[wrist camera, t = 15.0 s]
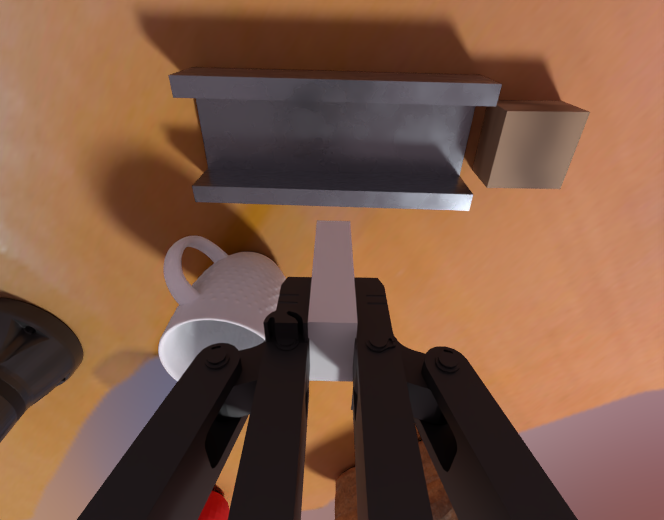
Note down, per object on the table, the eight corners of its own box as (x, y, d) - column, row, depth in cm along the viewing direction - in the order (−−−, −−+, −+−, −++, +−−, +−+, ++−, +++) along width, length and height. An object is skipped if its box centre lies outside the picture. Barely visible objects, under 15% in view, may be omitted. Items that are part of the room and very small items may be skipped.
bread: (324, 472, 69) (320, 561, 57) (467, 413, 56) (498, 510, 45) (364, 495, 73) (367, 581, 62) (504, 445, 61) (539, 540, 50)
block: (471, 169, 34) (487, 187, 31) (487, 99, 31) (507, 111, 27) (536, 170, 34) (560, 188, 31) (560, 100, 31) (590, 111, 27)
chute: (212, 180, 36) (195, 201, 31) (192, 67, 30) (168, 75, 26) (454, 187, 35) (468, 210, 31) (480, 74, 30) (501, 84, 26)
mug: (161, 235, 39) (91, 318, 29) (237, 188, 36) (191, 261, 25) (246, 321, 46) (216, 413, 36) (317, 288, 43) (308, 379, 32)
